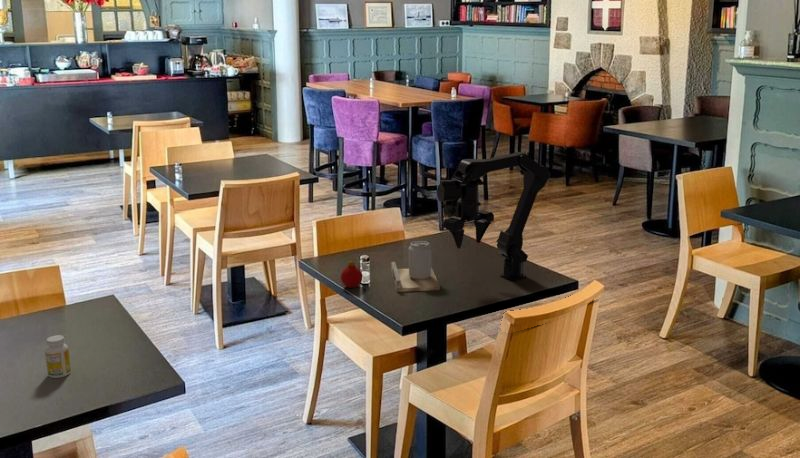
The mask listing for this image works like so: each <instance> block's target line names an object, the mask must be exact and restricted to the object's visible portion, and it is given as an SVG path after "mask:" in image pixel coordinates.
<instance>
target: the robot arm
mask: <svg viewBox="0 0 800 458" xmlns="http://www.w3.org/2000/svg"><path fill="white" fill-rule="evenodd" d="M514 167H518V168H519V169H520V170H521V171H522V172H523V173H524V174H523V178H522V179H523V180H522V181H523V189H522V192H521V194H520V197H519V199H518V202H517V205H516V207H515V210H514V212H513V215H512V218H511V220H510V224H509V226H508V228H507V229H506V230H505V231H503V230H500V232H499V235H498V238H497V239H496V240H495V242H496V243H497V244H496V248H497V250H498V252H499V253H500V254H501V257H503V258H505V259H504V261H503V262H504V263H503V273H501V274H500V276H499V277H502V278H505V279H508V280H512V281H517V280H520V279H523V278H526V277H527V274H525V273H524V263H526V262H527V260H528V257H529V255H528V254H527V253H526V252H525V251H524V250H523V249H522V248H523V244H524V240H523V239H524V238H523V233H524V230H525V227H526V225H527V222H528V219H529V218H530V217H529V216H530V215H531V214H530V213H531V211H532V208H533V207H534V204H535V201H536V198H537V197H538V196H537V195H538V194H539V193H540V192H541V190H542V189H543V188H545V186H546V185H547V182H548V181H549V179H550V176H551V171H550V169H549V168H548V167H547V166H545V165H543V164H542V165H541V164H539V163H538V162H536V161H535V160H533V159H532V158H531V157H530V156H529V155H527V154H526V153H523V152H521V151H515V152H514V153H509V154H505V155H499V156H494V157H489V158H486V159H485V158H484V159H483V158H482V159H478V158H464V159H462V160H461V161H460V162H459V164H458V166H457V169H456V170H455V172H454V173H453V175H452V176H451V178H450V179H447V180H446V179H441V180H439V184H438V186H437V189H436V196H437V199H438V201H439V202H440V203H444V202H452V201H455V202H456V201H457V202H456V205H455V206H452V205H451V204H448V205H444V206H443V215H444V216H446V217H447V218H445V219H444V220H443V221H442V228H443V229H445V230H446V231H449V232H450V233H451V234H452V238H453V241H454V242H455V246H456V248H457V249H462V245H463V239H464V234H465V229H464V227H465V225H466V224H470V223H473V224H474V226H475V240H476V241H475V242H476V244H480V243H481V241H482V239H483V237H484V235H485V234H486V231H488V228H489V226H490V225H492V222H494V221H495V215H494V213H493V211H487V210H485V209H480V210H479V207H480V206H481V205H482V204H481V202H480V201H479V186H484V185H485V182H484V181H483V180H482V179H481V178H482V177H484V176H485V175H487V174H489V173H491V172H496V171H500V170H506V169H510V168H514Z"/></svg>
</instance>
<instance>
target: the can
mask: <svg viewBox="0 0 800 458" xmlns="http://www.w3.org/2000/svg"><path fill="white" fill-rule="evenodd" d="M431 268H432V247H431V245H430V243H429V242H428V241H424V240H417V241H412V242H410V245H409V246H408V269H409V276H410V277H411V278H412V279H414V280H426V279H428V278H429V277H430V276H431Z"/></svg>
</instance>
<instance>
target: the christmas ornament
mask: <svg viewBox="0 0 800 458" xmlns="http://www.w3.org/2000/svg"><path fill="white" fill-rule="evenodd" d="M347 264H348V265H347V266H346V267H345V268H344V269H343V270H342V271H341V273H340V280H341V283H342V284H343V285H344V286H345V287H347V288H350V289H352V288H353V289H354V288H357V287H358V286H359V285H361V283H362V282H363V272H362V270H361V269H360V268H359V267H358V266H356V265H355V260H351V258H349V259H348V262H347Z"/></svg>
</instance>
